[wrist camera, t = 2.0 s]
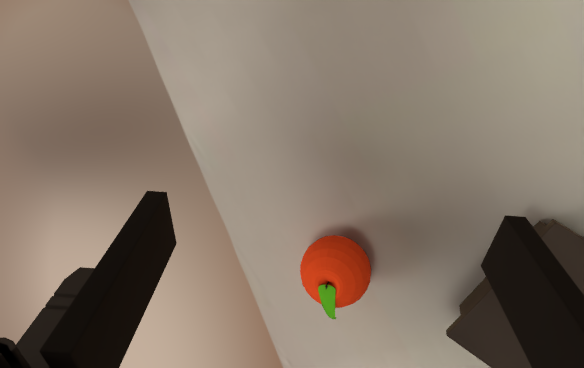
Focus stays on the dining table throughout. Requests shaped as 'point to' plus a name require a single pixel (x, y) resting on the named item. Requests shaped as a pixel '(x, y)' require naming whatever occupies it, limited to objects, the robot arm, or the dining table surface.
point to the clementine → (335, 272)
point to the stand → (490, 316)
